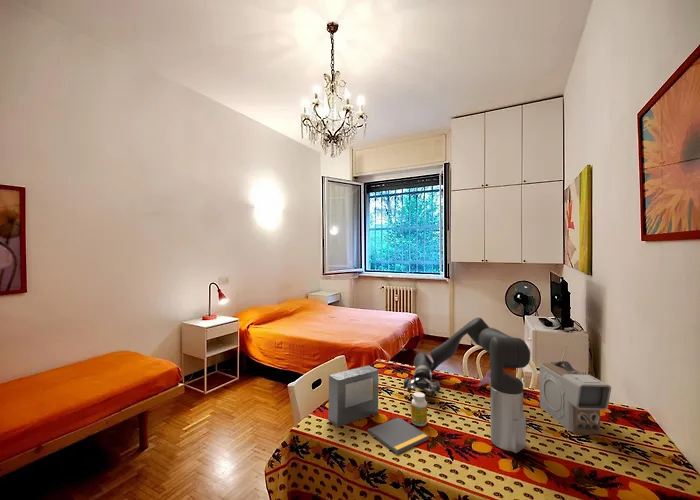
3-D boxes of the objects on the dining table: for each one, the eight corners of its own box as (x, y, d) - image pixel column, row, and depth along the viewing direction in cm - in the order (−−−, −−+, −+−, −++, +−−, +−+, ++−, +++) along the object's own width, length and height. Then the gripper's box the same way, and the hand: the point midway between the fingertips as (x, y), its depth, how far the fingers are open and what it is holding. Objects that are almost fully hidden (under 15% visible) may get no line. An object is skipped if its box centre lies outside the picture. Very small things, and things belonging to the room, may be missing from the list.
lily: (507, 389, 143) (497, 367, 147) (513, 389, 132) (503, 365, 136) (480, 396, 143) (472, 374, 148) (485, 396, 133) (476, 373, 137)
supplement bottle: (415, 427, 109) (415, 398, 109) (408, 419, 114) (408, 392, 114) (429, 425, 110) (429, 397, 110) (422, 417, 115) (422, 390, 115)
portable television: (578, 440, 102) (578, 347, 102) (537, 405, 126) (537, 329, 126) (616, 441, 102) (616, 347, 102) (567, 405, 125) (567, 330, 126)
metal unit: (378, 413, 118) (379, 370, 118) (337, 428, 108) (338, 380, 108) (367, 405, 124) (367, 364, 124) (327, 419, 113) (328, 374, 114)
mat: (428, 439, 102) (428, 435, 102) (396, 454, 94) (396, 450, 94) (398, 420, 113) (398, 417, 113) (367, 432, 105) (367, 428, 105)
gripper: (439, 387, 136) (439, 404, 121) (406, 383, 140) (402, 399, 125) (439, 369, 136) (439, 384, 121) (406, 366, 140) (402, 380, 125)
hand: (420, 392), depth 123 cm, fingers open, 8 cm apart
